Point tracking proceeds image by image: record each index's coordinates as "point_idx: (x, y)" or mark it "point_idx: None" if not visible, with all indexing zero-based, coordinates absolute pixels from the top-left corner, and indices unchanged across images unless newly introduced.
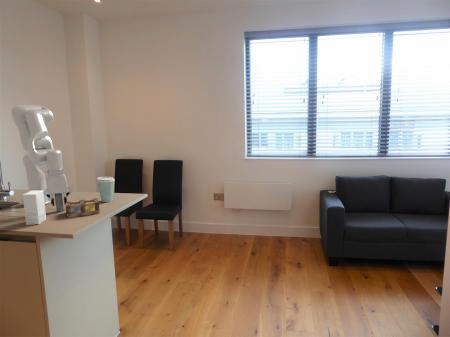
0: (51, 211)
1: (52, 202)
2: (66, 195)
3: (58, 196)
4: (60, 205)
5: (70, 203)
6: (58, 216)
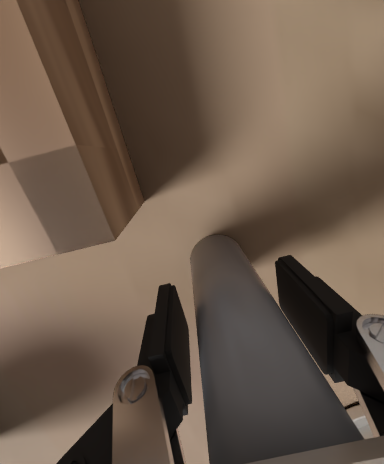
0: None
1: (313, 276)
2: (115, 409)
3: (259, 367)
4: (211, 267)
5: (12, 163)
6: (187, 77)
